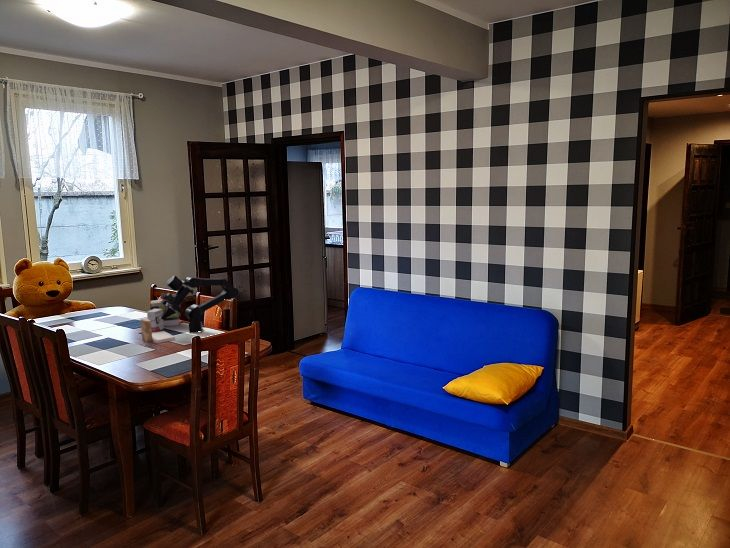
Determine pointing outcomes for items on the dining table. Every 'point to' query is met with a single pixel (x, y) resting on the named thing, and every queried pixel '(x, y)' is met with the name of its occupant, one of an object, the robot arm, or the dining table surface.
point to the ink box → (155, 319)
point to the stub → (146, 330)
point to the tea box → (157, 304)
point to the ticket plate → (162, 337)
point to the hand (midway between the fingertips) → (161, 319)
